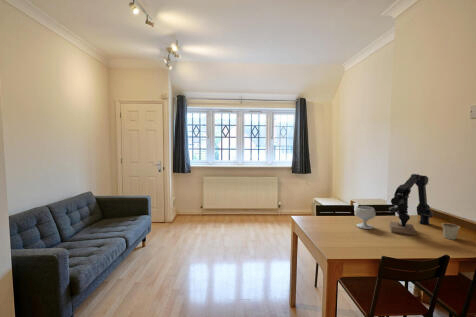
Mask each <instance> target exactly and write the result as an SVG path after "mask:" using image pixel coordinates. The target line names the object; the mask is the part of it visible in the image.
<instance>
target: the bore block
mask: <svg viewBox="0 0 476 317" xmlns="http://www.w3.org/2000/svg"><path fill="white" fill-rule="evenodd" d="M389 228H390V232H391V233H392V234H394V233H395V234H398V233H399V235H407V236H414V237H416V231H417V230H416V229H415V227H414V225H413V224H412V223H408V222H407V223H406V225H405V227H401V226H400V221H399V222H397V221H392V220H391V221H389Z"/></svg>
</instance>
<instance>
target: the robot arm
mask: <svg viewBox="0 0 476 317" xmlns="http://www.w3.org/2000/svg"><path fill="white" fill-rule="evenodd" d="M428 184H429V177H428V176H427V175H421V174H418V173H412V174H411V175H410V177H409V178H408V179H407V180H406V181H405V183H403V184H400V185H398V186H397V188H396V190H395V191H394V194H393V197H392V198H391V200H390V203H391V204H392V205H393V206H391V207H390V206H389V208H388V209H389V212H390V214H394V213H395V214H396V215H397V216H398V219H399V221H400V220H401V223H402V227H404V226H405V225H406V223H407V224H408V222H409V220H410V217H411V216H410V215H409V213H408V212H409V211H408V209H409V206H408V204H409V202H408V201H409V200H408V199H409V198H410V196H409V195H410V194H411V192H412V190H411V189H412V187H413V186H414V185H415V186H416V187H417V192H418V193H417V194H418V205H417V206H416V214H417V215H418V216H419V220H418V223H419V224H420V225H426V226H431V223H430V218H433V216H434V214H433V212H432V210H431V207H430V205H429V204H428V200H427V188H426V186H427V185H428Z"/></svg>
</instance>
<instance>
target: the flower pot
mask: <svg viewBox="0 0 476 317" xmlns="http://www.w3.org/2000/svg"><path fill="white" fill-rule="evenodd" d="M441 227H442V231H443V237H444V238H446V239H448V240H456V239H457V237H458V236H457V235H458V232H459V230H460V228H461V226H459V225H457V224H454V223H449V222H447V223H445V222H444V223H443V222H442V223H441Z"/></svg>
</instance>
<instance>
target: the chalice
mask: <svg viewBox="0 0 476 317" xmlns="http://www.w3.org/2000/svg"><path fill="white" fill-rule="evenodd" d="M354 213H355V216H356V217H358V218H359V219H361V220H362V221H363V222H362V223H357V224H355V225H356V227H357V228H360V229H362V230H363V229H365V230H373V229H374V228H375V227H374V226H373V225H372V224H369V223H367V222H368V221H369V220H373V219H375V217H377V216H376V215H377V214H376V210H375V208H374V207H372V206H368V205H358V206H356V208H355V210H354Z"/></svg>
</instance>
